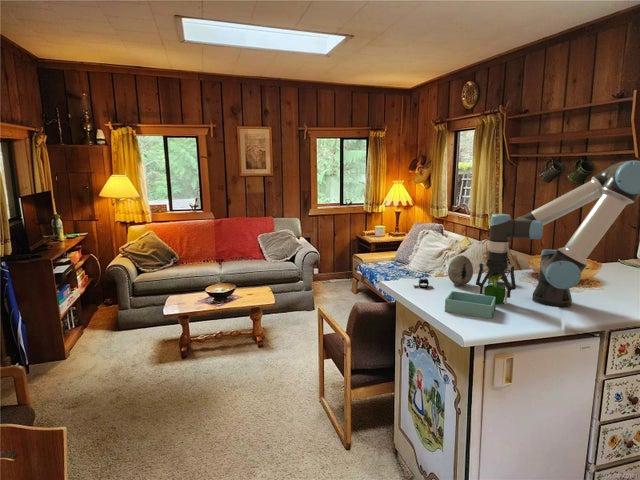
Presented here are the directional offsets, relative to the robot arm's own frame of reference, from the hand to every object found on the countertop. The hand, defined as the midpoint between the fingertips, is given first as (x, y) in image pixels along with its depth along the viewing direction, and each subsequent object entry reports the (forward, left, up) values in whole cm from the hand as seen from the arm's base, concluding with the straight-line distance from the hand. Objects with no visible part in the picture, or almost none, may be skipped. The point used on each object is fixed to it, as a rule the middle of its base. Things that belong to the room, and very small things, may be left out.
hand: (494, 303), depth 176 cm
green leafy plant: (+1, -37, -1) cm, 37 cm away
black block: (+33, -11, -1) cm, 35 cm away
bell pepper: (0, 0, -1) cm, 1 cm away
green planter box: (+7, +17, +1) cm, 18 cm away
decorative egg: (+18, -24, -1) cm, 30 cm away
